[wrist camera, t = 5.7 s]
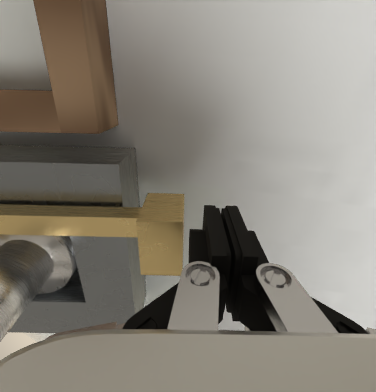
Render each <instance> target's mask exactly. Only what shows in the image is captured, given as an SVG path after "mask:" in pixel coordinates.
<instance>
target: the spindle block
mask: <svg viewBox="0 0 376 392" xmlns="http://www.w3.org/2000/svg"><path fill="white" fill-rule="evenodd" d="M0 204H9V205H54V206H99V207H139V194H138V181H137V168H136V155H135V148H112V147H70V146H28V145H0ZM70 238H71V242H72V246H73V250H74V255H75V259H76V263H77V269H76V270H75V272H74V273H73V275H72V276H71V278H70V280H69V281H68V283H67V284H66V285H65V286H64V287H62V288H61V289H59V290H57V291H54V292H51V293H45V294H36V296H35V297H34V298H33V300H32V301H31V302H30V304H29V305H28V306H27V307H26V309H25V310H24V311H23V313H22V314H21V315H20V317H19V318H18V319H17V321H16V322H15V323H14V325H13V326H12V327H11V328H10V330H9V331H8V332H26V333H59V332H64V331H69V330H75V329H80V328H85V327H90V326H95V325H101V324H106V323H111V322H116V321H117V325H118V324H124V323H126V322H127V320H128V319H130V318H131V317H132V316H133V315H134V314H136V313H137V312H138V311H140V310H141V309H143V306H144V301H145V297H146V285H145V275H141V271H140V259H139V248H138V237H96V236H70Z"/></svg>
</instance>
